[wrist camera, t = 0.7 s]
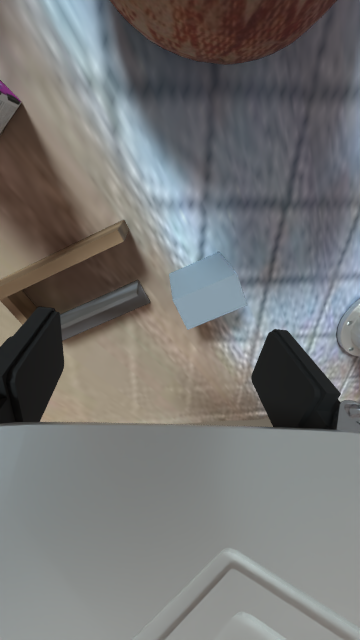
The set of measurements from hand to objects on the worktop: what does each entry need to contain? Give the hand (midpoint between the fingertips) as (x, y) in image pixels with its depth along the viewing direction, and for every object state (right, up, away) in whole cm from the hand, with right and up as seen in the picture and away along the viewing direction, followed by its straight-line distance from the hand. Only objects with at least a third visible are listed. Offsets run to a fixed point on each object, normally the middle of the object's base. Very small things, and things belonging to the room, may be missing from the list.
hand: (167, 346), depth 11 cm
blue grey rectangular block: (+3, +7, +22) cm, 23 cm away
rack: (-12, +5, +21) cm, 25 cm away
